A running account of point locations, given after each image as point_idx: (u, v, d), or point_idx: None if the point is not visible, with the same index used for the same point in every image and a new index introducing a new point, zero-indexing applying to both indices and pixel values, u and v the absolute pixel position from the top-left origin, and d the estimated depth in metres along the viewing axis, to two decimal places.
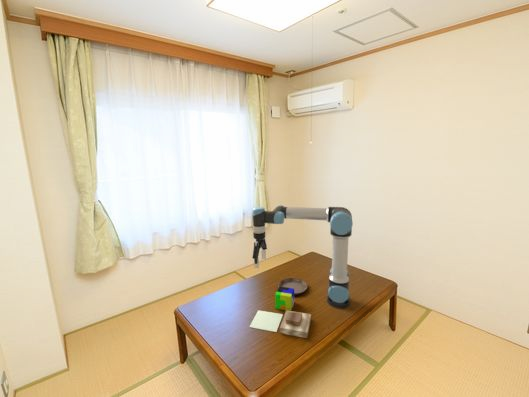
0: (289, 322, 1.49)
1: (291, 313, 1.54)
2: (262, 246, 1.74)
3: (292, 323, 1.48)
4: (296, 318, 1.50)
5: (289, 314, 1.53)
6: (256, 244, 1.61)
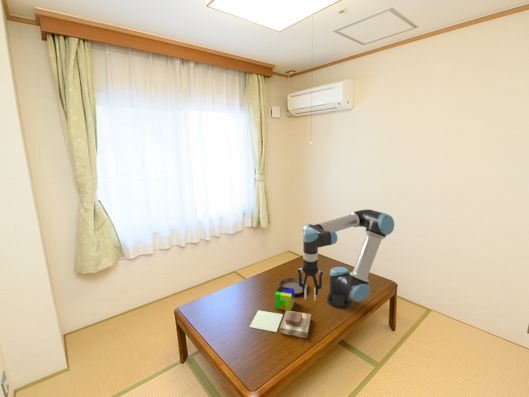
0: (289, 322, 1.49)
1: (291, 313, 1.54)
2: None
3: (292, 323, 1.48)
4: (296, 318, 1.50)
5: (289, 314, 1.53)
6: None
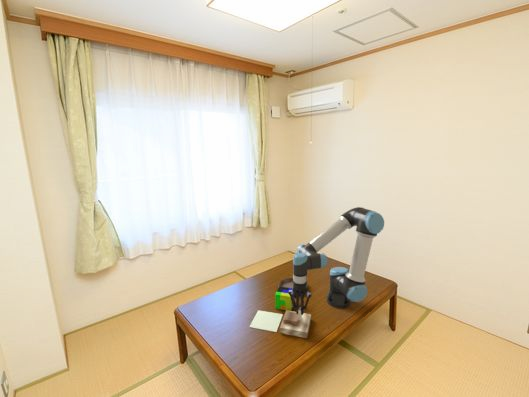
0: (286, 322, 1.49)
1: (289, 312, 1.55)
2: (301, 302, 1.48)
3: (290, 323, 1.48)
4: (293, 318, 1.50)
5: (287, 314, 1.54)
6: None
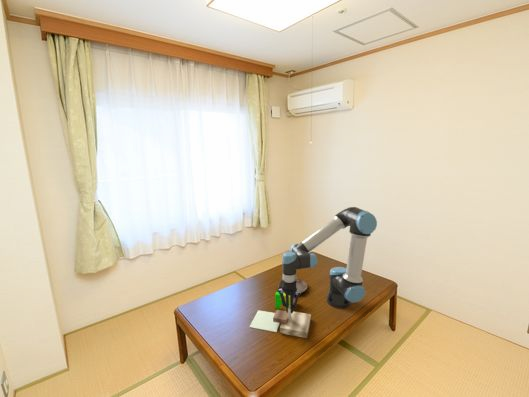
0: (276, 320, 1.51)
1: (279, 311, 1.56)
2: None
3: (279, 321, 1.50)
4: (283, 316, 1.52)
5: (277, 312, 1.55)
6: None
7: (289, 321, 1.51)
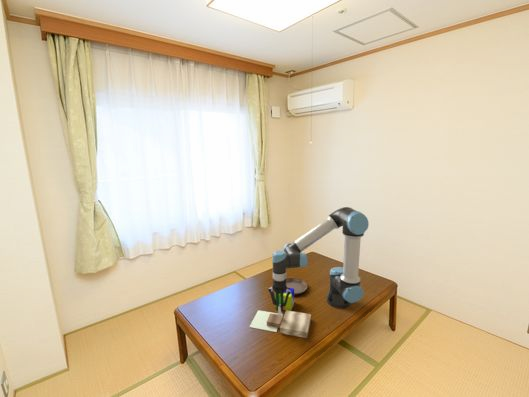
0: (269, 324, 1.52)
1: (272, 315, 1.58)
2: None
3: (273, 325, 1.52)
4: (277, 320, 1.53)
5: (270, 316, 1.57)
6: None
7: (289, 321, 1.51)
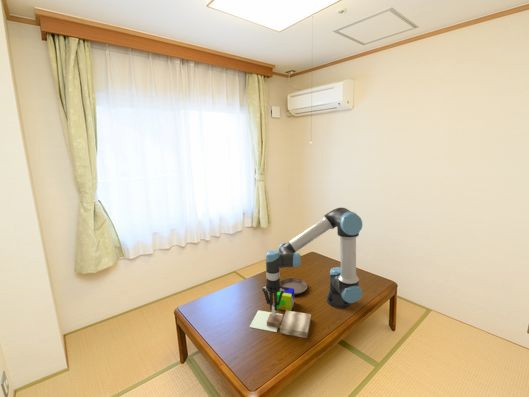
0: (269, 324, 1.52)
1: None
2: None
3: (273, 325, 1.52)
4: (277, 320, 1.53)
5: (270, 316, 1.57)
6: None
7: (289, 321, 1.51)
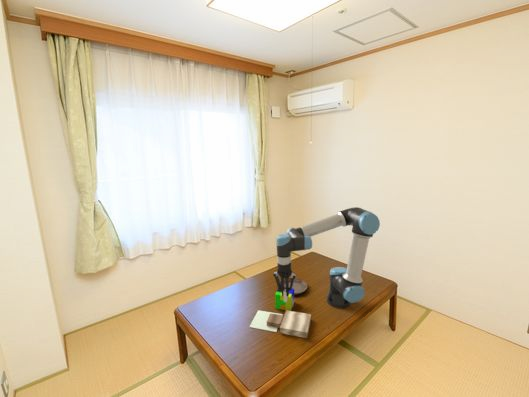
0: (269, 324, 1.52)
1: (272, 315, 1.58)
2: None
3: (273, 325, 1.52)
4: (277, 320, 1.53)
5: (270, 316, 1.57)
6: None
7: (289, 321, 1.51)
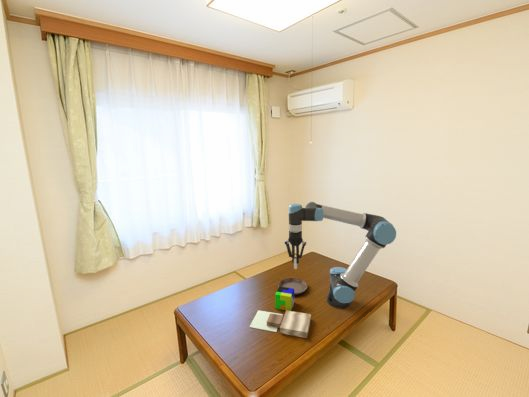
0: (269, 324, 1.52)
1: (272, 315, 1.58)
2: None
3: (273, 325, 1.52)
4: (277, 320, 1.53)
5: (270, 316, 1.57)
6: None
7: (289, 321, 1.51)
